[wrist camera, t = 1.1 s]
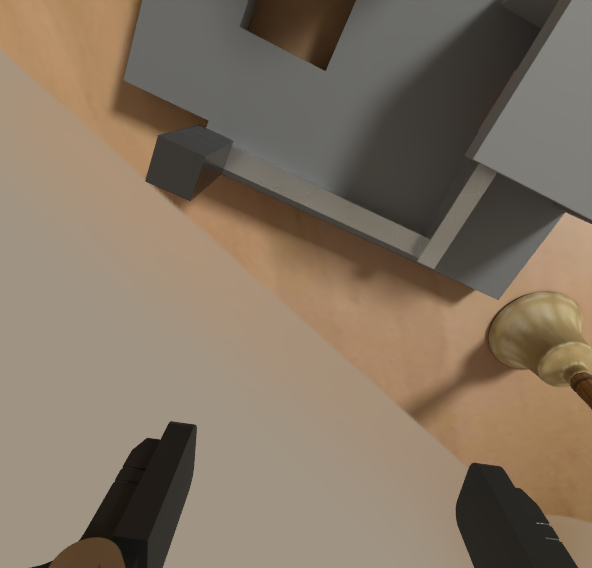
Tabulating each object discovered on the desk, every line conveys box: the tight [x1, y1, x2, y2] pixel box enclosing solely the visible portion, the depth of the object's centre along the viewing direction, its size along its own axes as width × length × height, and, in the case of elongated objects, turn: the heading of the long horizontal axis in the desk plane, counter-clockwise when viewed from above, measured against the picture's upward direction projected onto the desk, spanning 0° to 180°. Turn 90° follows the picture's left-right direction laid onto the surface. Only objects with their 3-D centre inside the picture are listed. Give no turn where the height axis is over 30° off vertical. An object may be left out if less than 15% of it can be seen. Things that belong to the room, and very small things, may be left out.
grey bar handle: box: [145, 125, 497, 269], centre depth 24 cm, size 19×8×9 cm, turn 66°
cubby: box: [123, 0, 592, 300], centre depth 24 cm, size 32×18×12 cm, turn 66°
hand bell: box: [489, 292, 592, 409], centre depth 30 cm, size 8×8×16 cm
